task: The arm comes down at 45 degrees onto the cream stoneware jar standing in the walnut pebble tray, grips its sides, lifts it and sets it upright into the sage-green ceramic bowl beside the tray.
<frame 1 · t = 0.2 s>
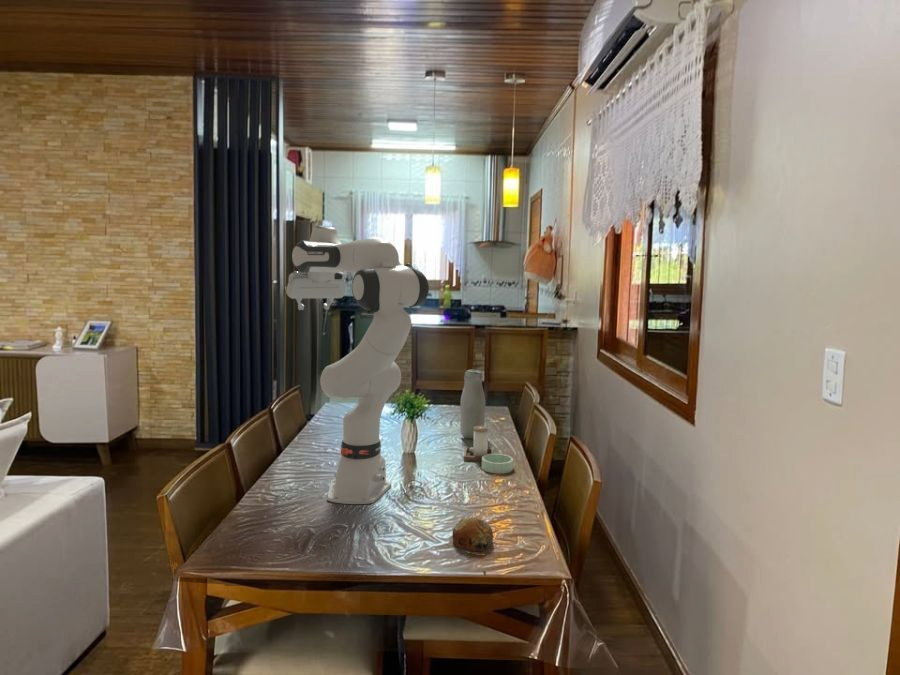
hand: (313, 309, 213), 52 cm above the table, tool tilted 20°, fingers open, 8 cm apart
pebble b: (479, 453, 221), point 1 cm above the table, touching pebble tray
bread roll: (472, 544, 151), on the table
bowl: (496, 470, 205), on the table
jar: (480, 458, 216), point 1 cm above the table, touching pebble tray
grey bottle: (471, 439, 243), on the table
pebble a: (472, 453, 220), point 1 cm above the table, touching pebble tray
pebble tray: (478, 459, 217), on the table
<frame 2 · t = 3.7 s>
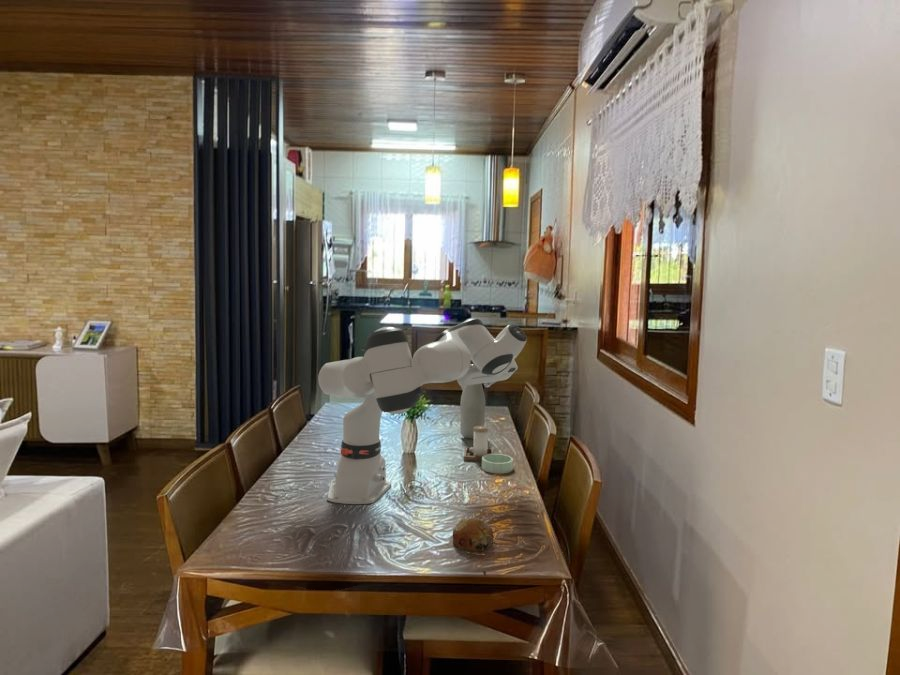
hand: (474, 387, 205), 28 cm above the table, tool tilted 45°, fingers open, 8 cm apart
nothing on the table moved.
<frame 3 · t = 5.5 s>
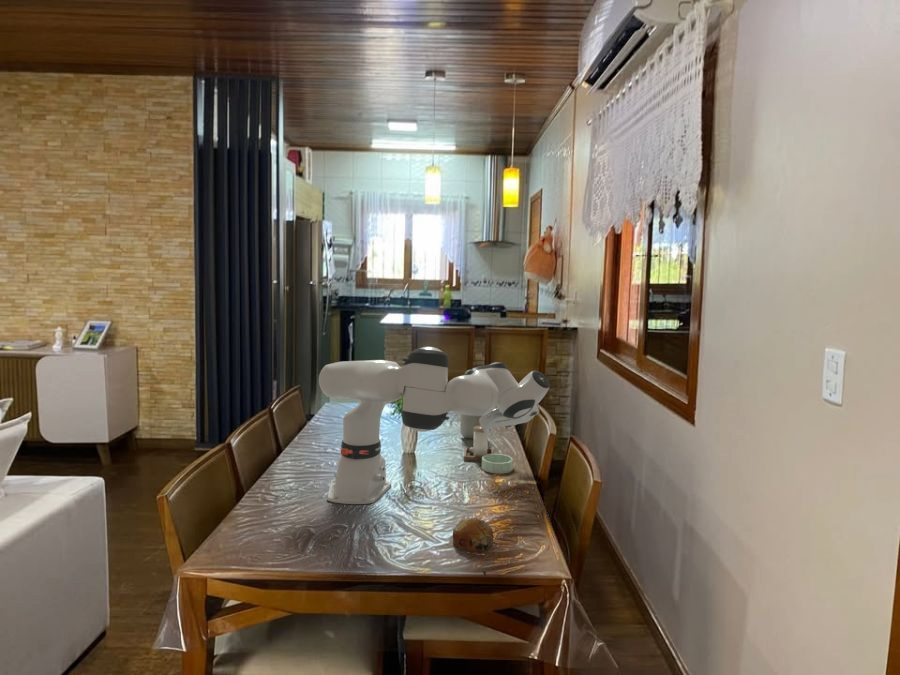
hand: (496, 429, 209), 13 cm above the table, tool tilted 45°, fingers open, 8 cm apart
nothing on the table moved.
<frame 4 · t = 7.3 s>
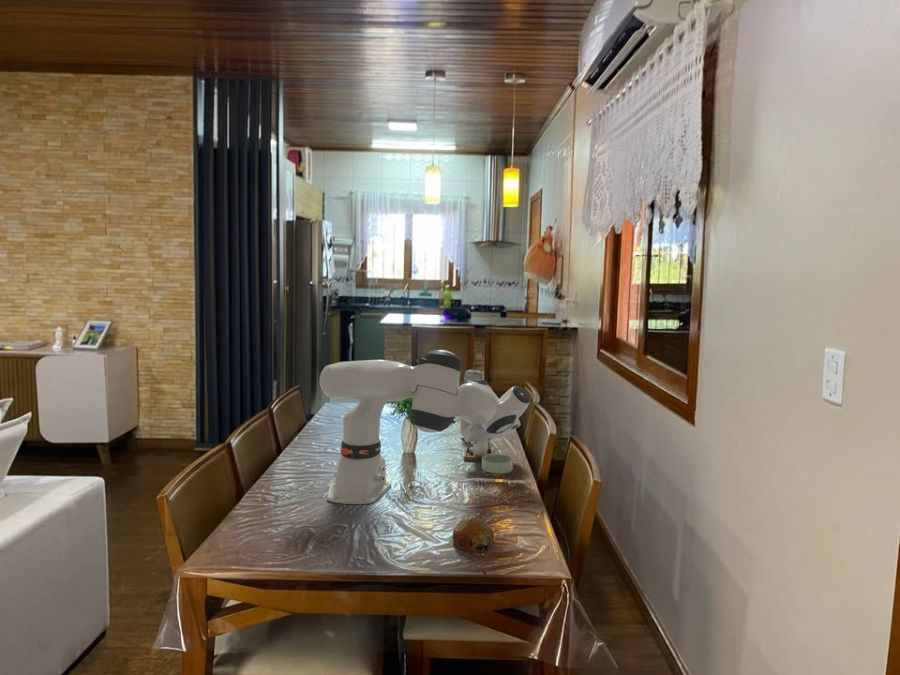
hand: (479, 441, 215), 7 cm above the table, tool tilted 45°, fingers closed on jar, 5 cm apart
jar: (480, 458, 216), point 1 cm above the table, touching gripper, pebble tray
everything else where it was.
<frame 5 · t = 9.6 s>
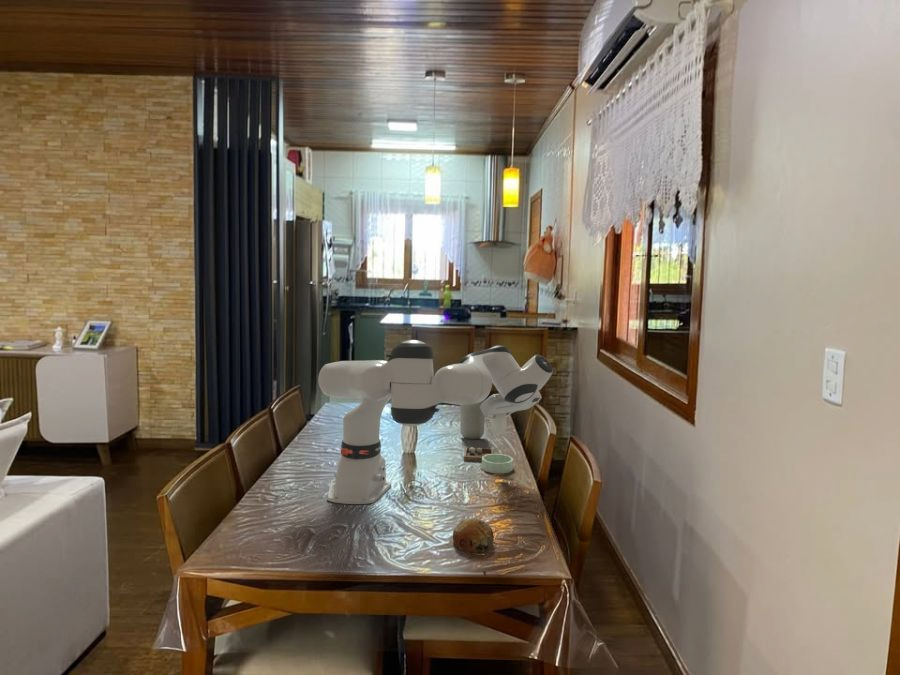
hand: (497, 416, 204), 19 cm above the table, tool tilted 45°, fingers closed on jar, 5 cm apart
jar: (498, 433, 204), point 13 cm above the table, touching gripper
everything else where it was.
when the fingers open (8 cm above the table, at t = 11.9 s): jar drops 2 cm, resting on bowl.
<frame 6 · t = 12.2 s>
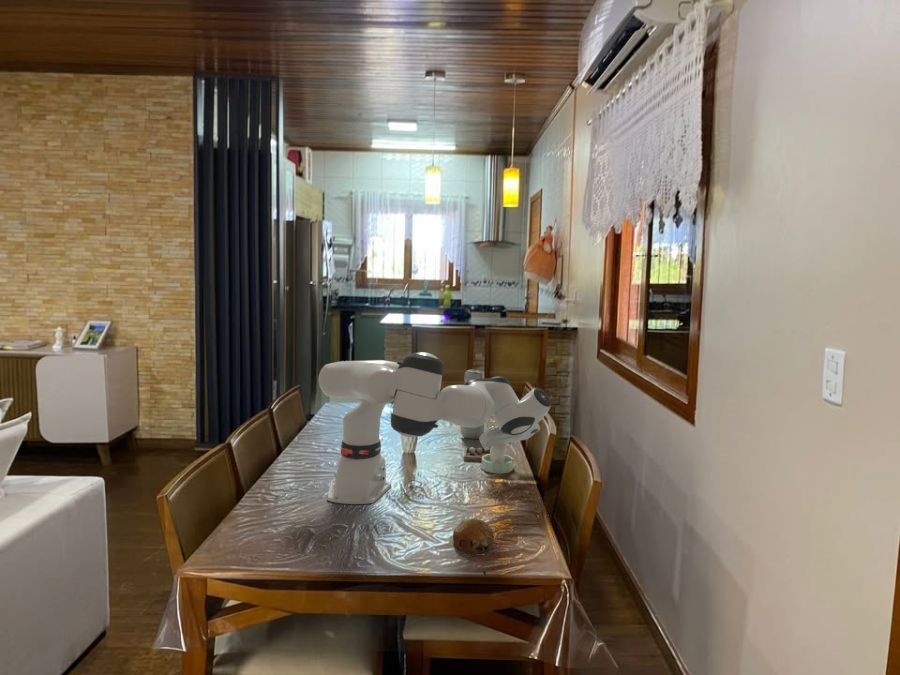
hand: (496, 446, 205), 8 cm above the table, tool tilted 45°, fingers open, 8 cm apart
jar: (496, 468, 205), point 1 cm above the table, touching bowl
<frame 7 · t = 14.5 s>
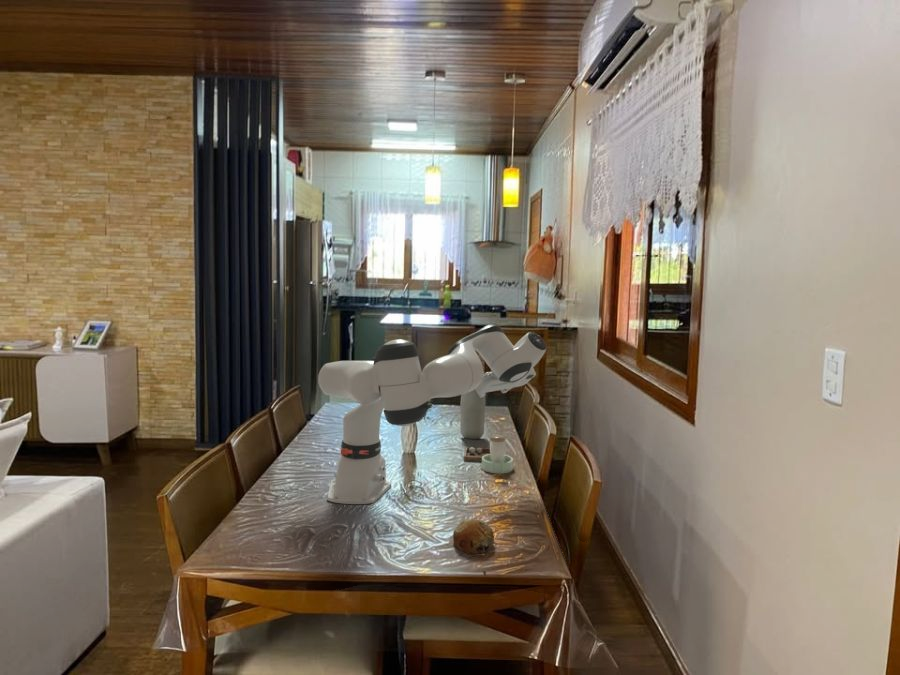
hand: (491, 393, 202), 27 cm above the table, tool tilted 45°, fingers open, 8 cm apart
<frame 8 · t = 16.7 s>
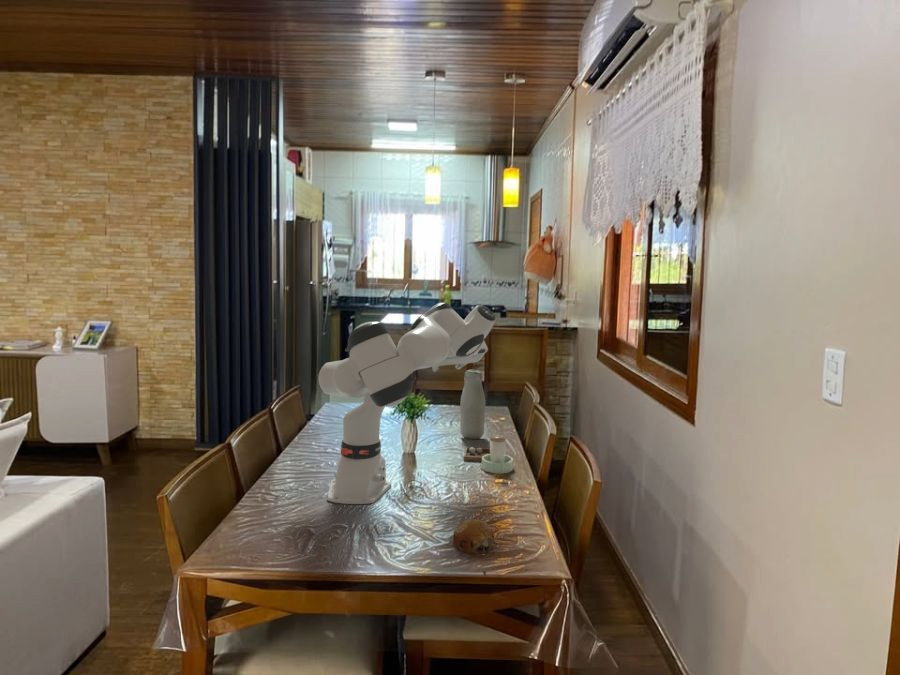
hand: (446, 369, 207), 33 cm above the table, tool tilted 45°, fingers open, 8 cm apart
at the end: jar 0.1 cm from the bowl (horizontally); jar point 0.8 cm above the table; jar tilted 0° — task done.
